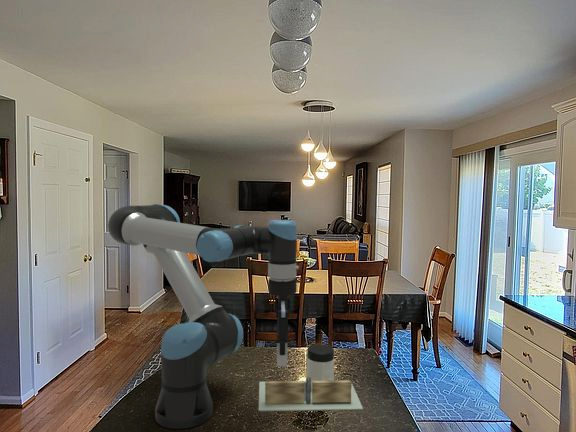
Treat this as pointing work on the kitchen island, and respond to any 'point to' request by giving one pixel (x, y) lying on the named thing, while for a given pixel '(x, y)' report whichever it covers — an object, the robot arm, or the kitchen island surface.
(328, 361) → the jar
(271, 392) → the fence panel
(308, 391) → the hinge post
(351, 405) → the board
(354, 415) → the kitchen island surface
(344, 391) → the fixed panel
